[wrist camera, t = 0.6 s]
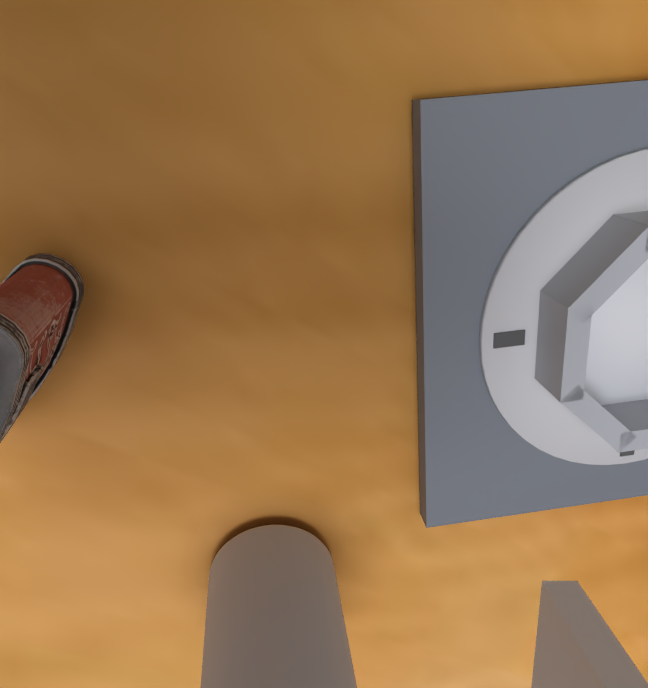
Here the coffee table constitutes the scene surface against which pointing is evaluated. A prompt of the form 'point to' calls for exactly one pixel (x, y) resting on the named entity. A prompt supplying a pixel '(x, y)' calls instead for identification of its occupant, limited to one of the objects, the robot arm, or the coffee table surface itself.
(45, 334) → the brown piece
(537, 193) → the board
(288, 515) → the coffee table surface
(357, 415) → the coffee table surface
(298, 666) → the beverage can
